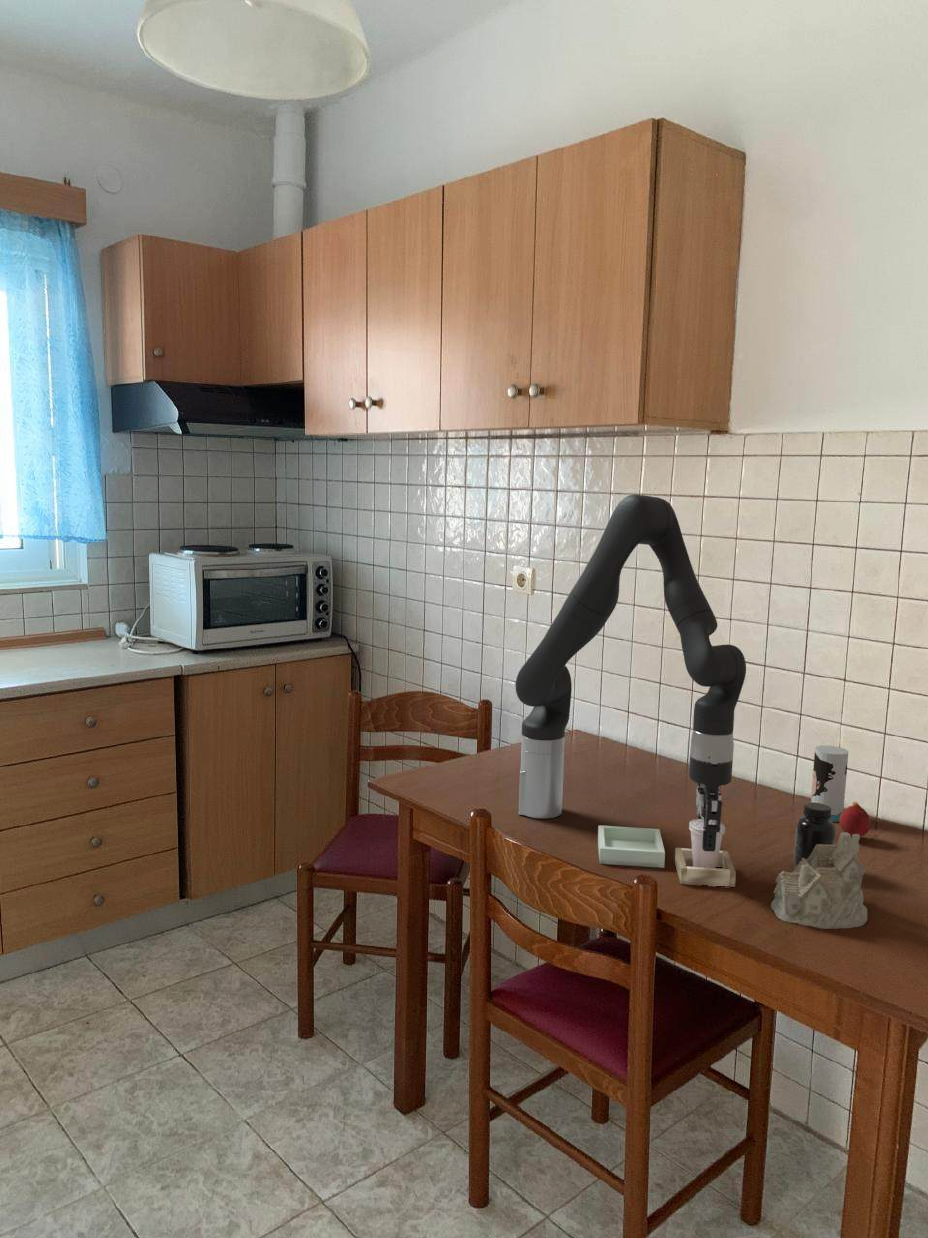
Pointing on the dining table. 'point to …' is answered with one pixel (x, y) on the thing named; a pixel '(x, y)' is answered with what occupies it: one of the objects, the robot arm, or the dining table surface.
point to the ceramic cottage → (824, 888)
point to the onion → (855, 820)
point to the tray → (630, 846)
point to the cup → (830, 778)
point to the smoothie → (698, 854)
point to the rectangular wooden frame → (704, 870)
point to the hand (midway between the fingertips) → (705, 843)
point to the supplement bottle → (813, 830)
